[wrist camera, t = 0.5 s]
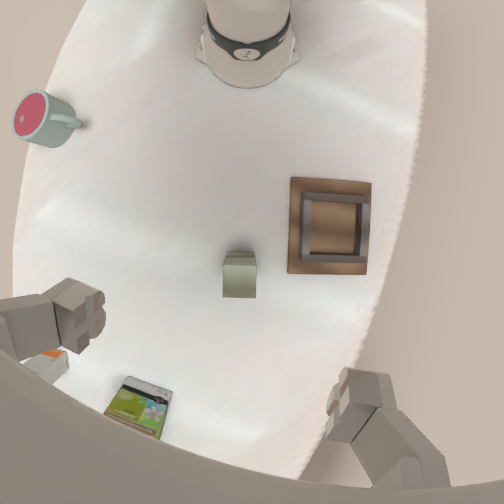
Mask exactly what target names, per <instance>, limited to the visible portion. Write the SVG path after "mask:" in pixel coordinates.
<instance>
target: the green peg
mask: <svg viewBox="0 0 504 504" xmlns="http://www.w3.org/2000/svg"><path fill="white" fill-rule="evenodd" d="M256 272H257V265H256V260H255V255H254V253H251V252H228V253H227V256H226V259H225V261H224V264H223V297H230V298H256Z"/></svg>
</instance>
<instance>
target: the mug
mask: <svg viewBox="0 0 504 504" xmlns="http://www.w3.org/2000/svg"><path fill="white" fill-rule="evenodd" d="M82 124H83V123H82V121H81V120H79V119H77V118H76V115H75V111H74V109H73V108H72V107H71V106H70V105H68V104H67V103H65V102H63V101H61V100H59V99H57V98H55V97H53V96H51V95H50V94H48V93H46V92H44V91H42V90H33V91H30V92H29V93H27V94H26V95H25V96H23V98H22V99H21V100H20V102H19V103H18V104H17V106H16V108H15V110H14V113H13V117H12V131H13V134H14V135H15V137H16V138H18V139H20V140H24V141H28V142H31V143H35V144H39V145H43V146H47V147H51V148H55V147H59V146H61V145H62V144H64V143H65V142H66V141H67V140H68V139H69V137H70V136H71V134H72V132H73V130H74V128H80V127H81V126H82Z"/></svg>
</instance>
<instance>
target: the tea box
mask: <svg viewBox="0 0 504 504" xmlns="http://www.w3.org/2000/svg"><path fill="white" fill-rule="evenodd" d="M171 396H172V392H170V391H167V390H164V389H162V388H159V387H156V386H154V385H151V384H148V383H146V382H143V381H140V380H138V379H135V378H132V377H130V376H129V377H128V378H127V379H126V381H125V382H124V384H123V385H122V387H121V388H120V390H119V391H118V393H117V394H116V396H115V397H114V398H113V400H112V401H111V403H110V405H109V406H108V407H107V409H106V410H105V412H104V414H103V415H105V416H107V417H109V418H111V419H113V420H115V421H117V422H119V423H121V424H123V425H126V426H128V427H130V428H132V429H134V430H136V431H139V432H141V433H143V434H145V435H148V436H150V437H152V438H155V439H157V440H160V437H161V433H162V429H163V426H164V422H165V418H166V415H167V411H168V407H169V403H170V400H171Z"/></svg>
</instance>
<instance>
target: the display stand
mask: <svg viewBox="0 0 504 504" xmlns="http://www.w3.org/2000/svg"><path fill="white" fill-rule="evenodd" d="M370 215H371V183H364V182H354V181H342V180H330V179H316V178H300V177H292V178H291V195H290V224H289V248H288V269H287V272H288V274H334V275H366V272H367V261H368V248H369V234H370Z"/></svg>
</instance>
